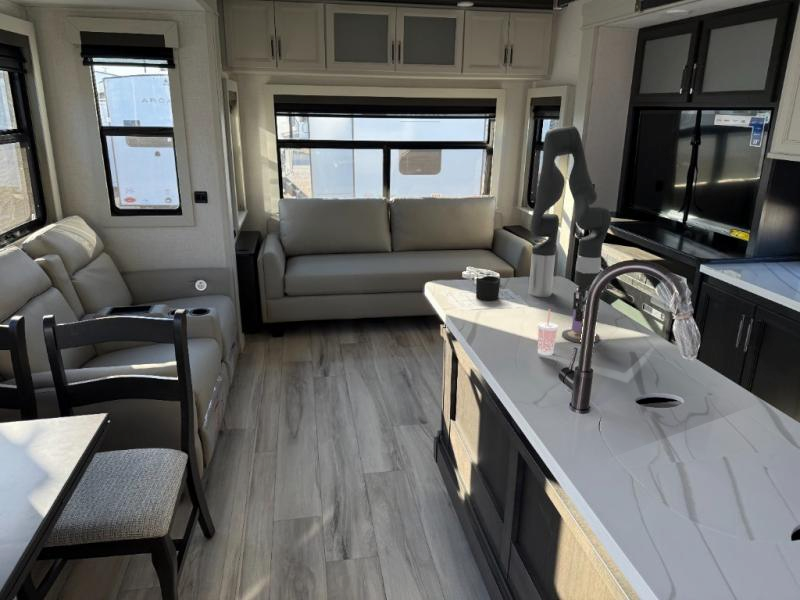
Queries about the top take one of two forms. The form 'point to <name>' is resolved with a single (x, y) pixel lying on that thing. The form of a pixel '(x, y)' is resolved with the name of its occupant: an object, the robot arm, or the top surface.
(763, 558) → the top surface
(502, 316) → the top surface
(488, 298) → the pen holder
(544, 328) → the beverage cup
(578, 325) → the beverage can
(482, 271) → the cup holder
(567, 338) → the coaster
